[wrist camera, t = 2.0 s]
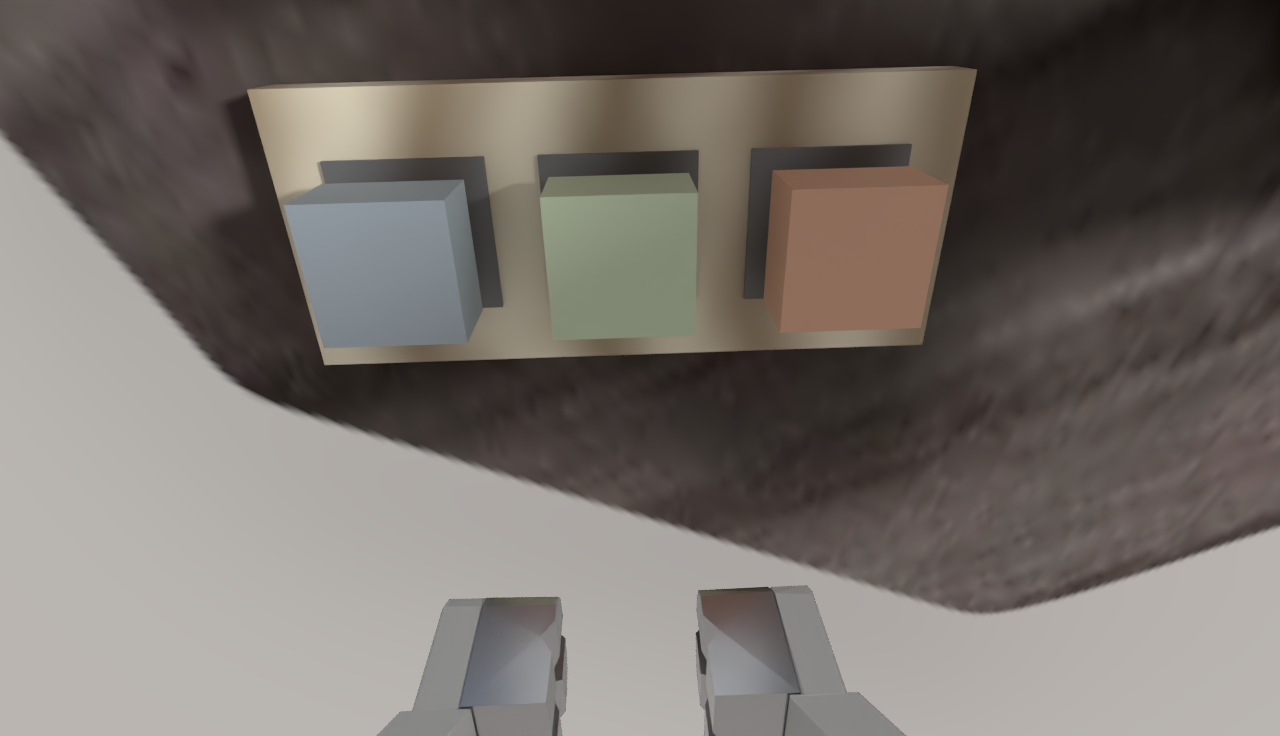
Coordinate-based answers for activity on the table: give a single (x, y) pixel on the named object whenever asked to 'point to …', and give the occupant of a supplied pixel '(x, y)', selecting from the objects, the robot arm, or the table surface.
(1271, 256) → the table surface
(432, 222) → the slate button
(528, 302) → the button board
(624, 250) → the sage button
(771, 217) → the terracotta button
